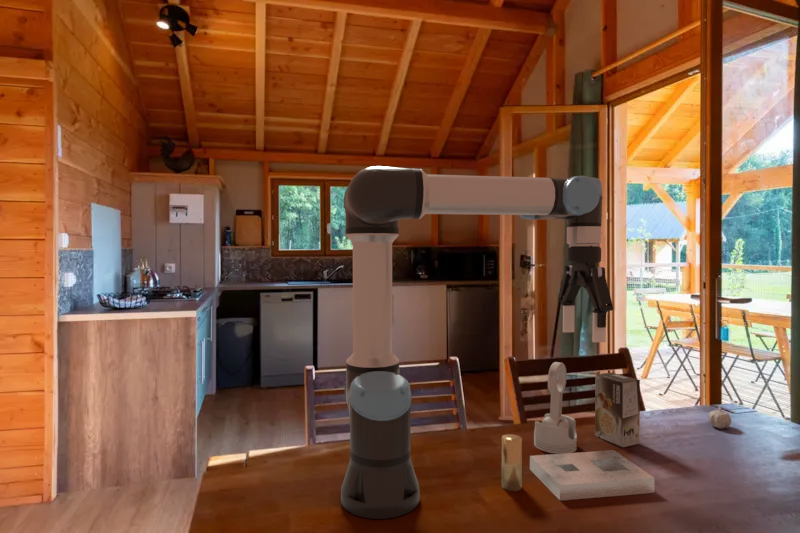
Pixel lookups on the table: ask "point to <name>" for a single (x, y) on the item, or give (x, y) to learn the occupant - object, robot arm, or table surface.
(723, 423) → the garlic
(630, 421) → the coffee box
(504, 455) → the cylinder
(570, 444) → the engine component
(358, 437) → the robot arm
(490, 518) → the table surface
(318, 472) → the table surface
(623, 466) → the white peg hole board
